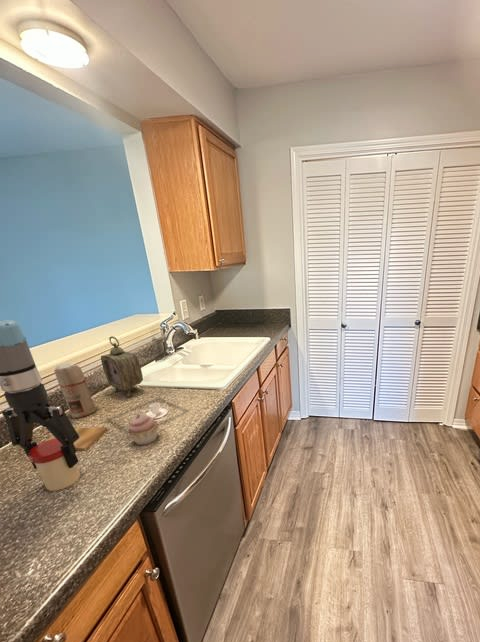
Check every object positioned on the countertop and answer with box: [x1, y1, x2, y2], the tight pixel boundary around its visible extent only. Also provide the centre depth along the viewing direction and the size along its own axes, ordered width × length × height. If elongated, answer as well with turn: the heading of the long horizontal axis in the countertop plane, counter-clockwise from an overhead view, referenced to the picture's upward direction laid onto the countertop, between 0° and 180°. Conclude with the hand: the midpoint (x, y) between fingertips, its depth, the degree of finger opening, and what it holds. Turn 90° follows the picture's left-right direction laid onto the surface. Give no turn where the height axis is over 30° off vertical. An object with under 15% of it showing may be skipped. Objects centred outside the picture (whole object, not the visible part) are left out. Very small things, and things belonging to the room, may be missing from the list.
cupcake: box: [126, 412, 159, 446], centre depth 102 cm, size 9×9×10 cm
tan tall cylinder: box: [53, 363, 97, 419], centre depth 120 cm, size 8×8×20 cm
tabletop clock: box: [100, 335, 144, 398], centre depth 136 cm, size 14×9×25 cm, turn 54°
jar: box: [35, 456, 81, 492], centre depth 85 cm, size 8×8×11 cm
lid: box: [28, 439, 67, 464], centre depth 83 cm, size 9×9×2 cm
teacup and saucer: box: [145, 402, 169, 420], centre depth 119 cm, size 9×8×4 cm
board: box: [45, 427, 108, 451], centre depth 106 cm, size 16×12×1 cm
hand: (56, 465), depth 85 cm, fingers closed on lid, 8 cm apart
